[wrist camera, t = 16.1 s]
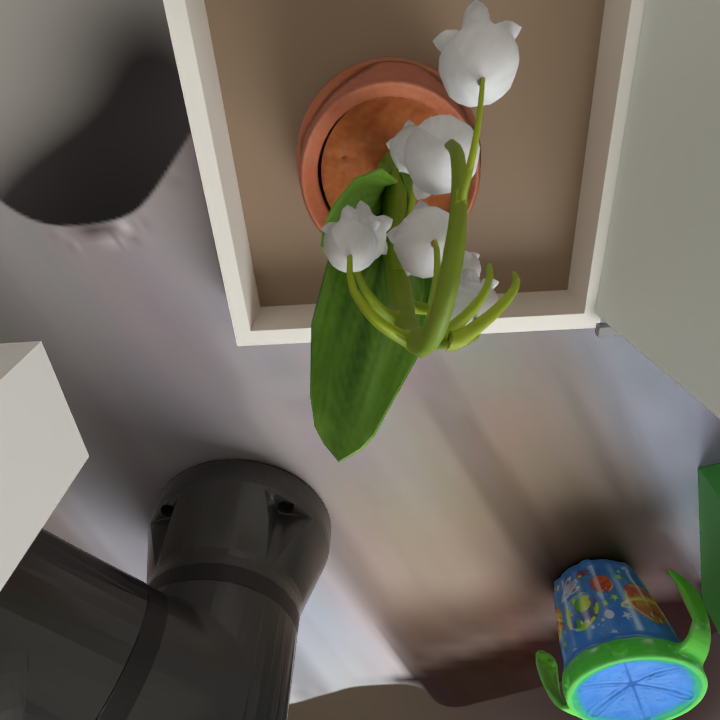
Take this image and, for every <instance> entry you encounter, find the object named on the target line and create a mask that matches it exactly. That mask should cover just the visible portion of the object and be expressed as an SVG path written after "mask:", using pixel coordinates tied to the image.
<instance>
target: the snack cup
mask: <svg viewBox="0 0 720 720" xmlns="http://www.w3.org/2000/svg"><path fill="white" fill-rule="evenodd" d="M667 572H668V574H669V575H670V576H671V577H672V579H673V580H674V581H675V583H676V585H677V588H678V590H679V592H680V594H681V596H682V599H683V601H684V603H685V605H686V607H687V609H688V611H689V613H690V615H691V617H692V624H691V627H690V630H689V632H688V636H687V637H686V639H685V640H684V641H683V642H682V641H681V640H680V639H679V637H678V636H677V635H676V633H675V631H674V630H673V628H672V626H671V625H670V624H669V622H668V621H667V619H666V617H665V616H664V614H663V612H662V611H661V609H660V608H659V607H658V605H657V604H656V603H655V601H654V600H653V599H652V597H651V596H650V594H649V592H648V590H647V588H646V587H645V585H644V584H643V582H642V581H641V580H640V579H639V577H638V576H637V574H636V573H635V572H634V571H633V570H632V569H631V567H630V566H629V565H628V564H626V563H624V562H617V561H612V560H607V559H597V560H589V559H586V560H583V561H581V562H580V563H579V564H577V565H575V566H572V567H570V568H568V569H567V570H566V571H565V572H564V573H563V574H562V575H561V577H560V578H558V579H557V580H555V582H554V603H555V610H556V618H557V626H558V633H559V641H560V646H561V651H562V656H563V659H564V671H563V674H562V687H563V692H564V696H565V699H566V702H567V703H565V701H564V700H563V698H562V696H561V693H560V690H559V680H558V667H557V663H556V661H555V658H554V657H553V656H551V655H550V654H549V653H547V652H545V651H543V650H539V651H537V653H536V665H537V669H538V672H539V675H540V678H541V681H542V683H543V685H544V688H545V690H546V692H547V693H548V695H549V697H550V698H551V700H552V702H553V703H554V704H555V705H556V706H558V707H559V708H560V709H562V710H564V711H566V712H568V713H570V714H572V715H575V716H577V717H580V718H581V719H584V720H671V719H673V718H676V717H678V716H680V715H682V714H684V713H686V712H688V711H689V710H691V709H692V708H693V707H694V706H696V705H697V704H698V703H699V702H700V701H701V700H702V698H703V697H704V695H705V693H706V691H707V687H708V682H707V677H706V675H705V673H704V670H703V664H704V661H705V659H706V657H707V655H708V651H709V647H710V642H711V633H710V623H709V619H708V615H707V611H706V608H705V605H704V603H703V600H702V598H701V597H700V595H699V593H698V592H697V591H696V589H695V588H694V587H693V586H692V585H691V584H690V583H689V582H688V581H687V580H686V579H685V578H684V577H682V576H681V575H680V574H678V573H676V572H675V571H673V570H667Z"/></svg>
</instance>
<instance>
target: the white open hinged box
mask: <svg viewBox="0 0 720 720" xmlns="http://www.w3.org/2000/svg"><path fill="white" fill-rule="evenodd" d="M473 1H475V0H163V3H164V8H165V12H166V17H167V22H168V26H169V31H170V35H171V40H172V45H173V50H174V54H175V59H176V63H177V68H178V73H179V78H180V82H181V87H182V91H183V96H184V101H185V105H186V110H187V114H188V119H189V124H190V129H191V133H192V138H193V143H194V147H195V152H196V156H197V161H198V166H199V170H200V175H201V180H202V184H203V189H204V194H205V198H206V203H207V208H208V212H209V217H210V222H211V226H212V231H213V235H214V240H215V245H216V249H217V254H218V259H219V263H220V268H221V273H222V277H223V282H224V287H225V291H226V296H227V301H228V305H229V310H230V314H231V319H232V324H233V328H234V333H235V338H236V342H237V346H250V345H270V344H289V343H309V342H311V322H312V318H313V315H314V311H315V307H316V303H317V299H318V295H319V291H320V287H321V284H322V280H323V276H324V272H325V268H326V264H327V260H328V258H327V256H326V255H325V253H324V251H323V250H322V248H321V239H322V233H321V232H320V231H319V230H318V228H317V227H316V225H315V224H314V223H313V221H312V219H311V217H310V215H309V213H308V211H307V209H306V206H305V203H304V200H303V197H302V193H301V187H300V184H299V179H298V173H297V155H296V148H297V141H298V135H299V131H300V127H301V124H302V121H303V118H304V116H305V114H306V112H307V110H308V108H309V106H310V104H311V102H312V101H313V100H314V98H315V97H316V95H317V94H318V92H319V91H320V90H321V89H322V88H323V87H324V86H325V85H326V84H327V83H328V82H329V81H330V80H331V79H332V78H334V77H335V76H336V75H338V74H339V73H340V72H342V71H343V70H345V69H347V68H349V67H351V66H353V65H355V64H358V63H361V62H364V61H368V60H371V59H377V58H385V57H395V58H406V59H410V60H414V61H418V62H421V63H423V64H425V65H427V66H429V67H432V68H434V69H435V70H437V71H438V67H439V57H440V55H441V52H440V51H439V50H438V49H437V48H436V46H435V44H434V43H433V40H434V39H435V38H436V37H437V36H438V35H439V34H440V33H441V32H443V31H445V30H458V31H460V30H461V29H462V23H463V18H464V13H465V11H466V9H467V7H468V6H469V5H470V4H471V3H472V2H473ZM478 1H480V2H482V3H484V5H485V6H486V7H487V8H488V12H489V16H490V19H491V21H492V23H494V24H497V23H499V22H503V21H506V20H508V21H512V22H514V23H516V24H518V25H519V26H521V27H522V28H521V30H520V32H519V34H518V36H517V37H516V38H515V41H516V43H517V45H518V50H519V66H518V69H517V72H516V75H515V78H514V80H513V83H512V85H511V88H510V89H509V90H508V91H507V92H506V93H505V94H504V95H503V96H502V97H501V98H500V99H498V100H497V101H495V102H494V103H492V104H490V105H483V113H482V122H481V129H480V136H479V137H480V144H481V169H480V183H479V189H478V193H477V197H476V200H475V203H474V206H473V208H472V210H471V212H470V214H469V216H468V218H467V229H466V247H465V250H466V251H468V252H476V253H478V254H480V256H479V258H478V260H479V261H480V265H481V273H480V277H479V279H480V282H482V280H483V279H485V278H486V266H487V264H488V263H491V264H492V269H493V279H495V280H497V281H498V282H499V283H498V285H497V286H496V287H495V288H494V289H493V290H494V291H495V292H496V294H497V295H498V299H500V298H501V297H502V296H503V295H504V294H505V293H506V292H507V291H508V289H509V288H510V287H511V284H512V277H511V274H512V272H513V271H516V273H517V274H518V276H519V278H520V285H519V289H518V292H517V294H516V295H515V297H514V299H513V301H512V302H511V303H510V304H509V306H508V307H507V308H506V309H505V311H504V312H503V313H502V314H501V315H500V316H499V317H498V318H497V319H496V320H495V321H494V322H493V323H491V324H490V325H489V326H488V327H487V328H486V329H485V330H484V331H483V332H481V333H480V334H485V333H504V332H524V331H543V330H563V329H582V328H595V333H596V335H597V336H598V337H611V336H622V337H623V338H625V339H626V340H627V341H628V342H629V343H630V344H632V345H633V346H634V347H635V348H636V349H638V350H639V351H640V352H641V353H642V354H643V355H645V356H646V357H647V358H648V359H649V360H650V361H652V362H653V363H654V364H655V365H656V366H658V367H659V368H660V369H661V370H662V371H663V372H665V373H666V374H667V375H668V376H669V377H670V378H672V379H673V380H674V381H675V382H676V383H678V384H679V385H680V386H681V387H682V388H683V389H685V390H686V391H687V392H688V393H689V394H690V395H692V396H693V397H694V398H695V399H696V400H698V401H699V402H700V403H701V404H702V405H703V406H705V407H706V408H707V409H708V410H709V411H710V412H712V413H713V414H714V415H715V416H716V417H718V418H719V419H720V0H478ZM438 72H439V71H438ZM470 108H471V110H472V112H473V114H474V117H475V120H476V114H477V106H476V107H470ZM601 319H602V320H603V321H605V322H606V323H600V320H601Z"/></svg>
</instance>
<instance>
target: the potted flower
mask: <svg viewBox="0 0 720 720" xmlns="http://www.w3.org/2000/svg"><path fill="white" fill-rule="evenodd" d="M521 28H522V27H521V26H519V25H518V24H516V23H514V22H512V21H508V20H506V21H503V22H499V23H497V24H494V23H492V21H491V19H490V16H489V12H488V8H487V7H486V6H485V5H484V3H482V2H480V1H478V0H475V1H473V2H472V3H471V4H470V5H469V6H468V7H467V9H466V11H465V13H464V18H463V23H462V29H461V30H460V31H458V30H445V31H443V32H441V33H440V34H439V35H438V36H437V37H436V38H435V39H434V40H433V43H434V44H435V46H436V48H437V49H438V50H439V51H440V52H441V55H440V57H439V67H438V71H439V72H438V71H437V70H435V69H434V68H432V67H429V66H427V65H425V64H423V63H421V62H418V61H414V60H410V59H406V58H395V57H385V58H377V59H371V60H368V61H364V62H361V63H358V64H355V65H353V66H351V67H349V68H347V69H345V70H343V71H342V72H340V73H339V74H338V75H336V76H335V77H334V78H332V79H331V80H330V81H329V82H328V83H327V84H326V85H325V86H324V87H323V88H322V89H321V90H320V91H319V92H318V94H317V95H316V97H315V98H314V100H313V101H312V102H311V104H310V106H309V108H308V110H307V112H306V114H305V116H304V118H303V121H302V124H301V127H300V131H299V135H298V141H297V148H296V155H297V173H298V179H299V184H300V187H301V193H302V197H303V200H304V203H305V206H306V209H307V211H308V213H309V215H310V217H311V219H312V221H313V223H314V224H315V225H316V227H317V228H318V230H319V231H320V232H321V233H322V239H321V248H322V250H323V251H324V253H325V255H326V256H327V258H328V260H327V264H326V268H325V272H324V276H323V280H322V284H321V287H320V291H319V295H318V299H317V303H316V307H315V311H314V315H313V318H312V322H311V373H310V398H311V405H312V412H313V418H314V425H315V428H316V430H317V432H318V434H319V436H320V438H321V439H322V441H323V443H324V445H325V446H326V447H327V448H328V449H329V451H330V452H331V453H332V454H333V456H334V457H335V458H336V459H337V460H338V462H341V461H343V460H344V459H346V458H348V457H350V456H352V455H353V454H355V453H357V452H359V451H361V450H362V449H363V448H364V447H365V446H366V444H367V443H368V442H369V441H370V440H371V439H372V438H373V437H374V436H375V434H376V432H377V430H378V428H379V426H380V425H381V423H382V421H383V419H384V417H385V415H386V413H387V411H388V409H389V408H390V406H391V404H392V402H393V401H394V399H395V397H396V395H397V393H398V392H399V390H400V388H401V386H402V384H403V383H404V381H405V379H406V377H407V375H408V374H409V372H410V370H411V368H412V367H413V365H414V363H415V361H416V359H417V358H418V357H420V358H421V357H424V356H426V355H428V354H430V353H431V352H433V351H435V350H436V349H447V350H458V349H459V348H461V347H463V346H466V345H468V344H470V343H472V342H473V341H475V340H477V339H478V337H479V335H480V333H481V332H483V331H484V330H485V329H486V328H487V327H488V326H489V325H490V324H491V323H493V322H494V321H495V320H496V319H497V318H498V317H499V316H500V315H501V314H502V313H503V312H504V311H505V309H506V308H507V307H508V306H509V304H510V303H511V302H512V301H513V299H514V297H515V295H516V294H517V292H518V289H519V285H520V278H519V276H518V274H517V273H516V271H513V272H512V274H511V277H512V284H511V287H510V288H509V289H508V291H507V292H506V293H505V294H504V295H503V296H502V297H501V298H500V299H498V295H497V294H496V292H495V291H494V290H493V289H494V288H495V287H496V286H497V285H498V283H499V282H498V281H497V280H495V279H493V269H492V264H491V263H488V264H487V266H486V278H485V279H483V280H482V282H480V279H479V277H480V273H481V265H480V261H479V260H478V258H479V256H480V254H478V253H476V252H468V251H466V250H465V247H466V229H467V218H468V216H469V214H470V212H471V210H472V208H473V206H474V203H475V200H476V197H477V193H478V189H479V183H480V169H481V144H480V137H479V136H480V129H481V122H482V113H483V105H490V104H492V103H494V102H495V101H497V100H498V99H500V98H501V97H502V96H503V95H504V94H505V93H506V92H507V91H508V90H509V89H510V88H511V85H512V83H513V80H514V78H515V75H516V72H517V69H518V66H519V50H518V45H517V43H516V41H515V38H516V37H517V36H518V34H519V32H520V30H521ZM476 106H477V114H476V120H475V117H474V114H473V112H472V110H471V108H470V107H476ZM447 350H445V351H447Z"/></svg>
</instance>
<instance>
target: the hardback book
mask: <svg viewBox="0 0 720 720" xmlns="http://www.w3.org/2000/svg"><path fill="white" fill-rule="evenodd" d="M698 487H699V520H700V552H701V584H702V600H703V603H704V605H705V608H706V610H707V612H708V614H709V616H710V617H711V619H712V621H713V623H714V625H715V626H716V628H717V630H718V632H719V633H720V463H718V464H713V465H709V466H704V467H699V468H698Z"/></svg>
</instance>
